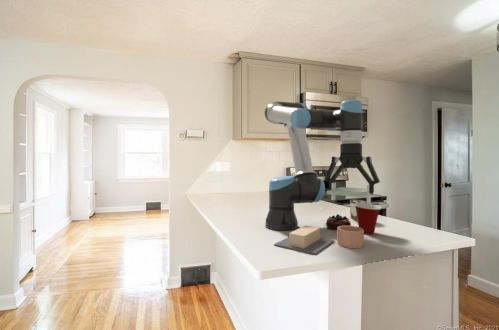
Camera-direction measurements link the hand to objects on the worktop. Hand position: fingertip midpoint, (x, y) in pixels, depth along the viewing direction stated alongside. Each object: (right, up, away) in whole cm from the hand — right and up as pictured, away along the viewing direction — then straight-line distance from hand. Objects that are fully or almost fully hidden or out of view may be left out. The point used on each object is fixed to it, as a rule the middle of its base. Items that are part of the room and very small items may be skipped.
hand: (350, 201), depth 103 cm
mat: (-17, -16, +2) cm, 23 cm away
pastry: (+4, -16, +27) cm, 31 cm away
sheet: (0, +3, 0) cm, 3 cm away
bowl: (0, -16, +1) cm, 16 cm away
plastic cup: (+13, -16, +17) cm, 27 cm away
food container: (+19, -15, +40) cm, 47 cm away
